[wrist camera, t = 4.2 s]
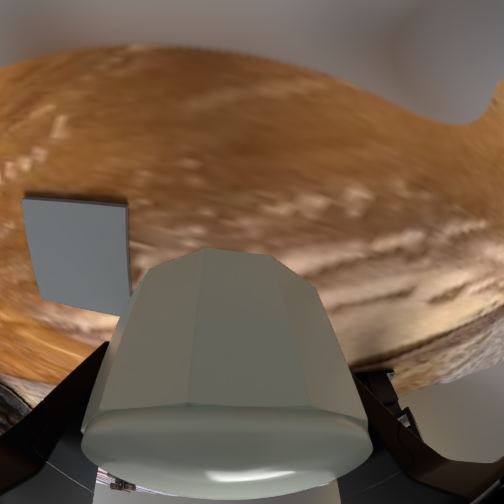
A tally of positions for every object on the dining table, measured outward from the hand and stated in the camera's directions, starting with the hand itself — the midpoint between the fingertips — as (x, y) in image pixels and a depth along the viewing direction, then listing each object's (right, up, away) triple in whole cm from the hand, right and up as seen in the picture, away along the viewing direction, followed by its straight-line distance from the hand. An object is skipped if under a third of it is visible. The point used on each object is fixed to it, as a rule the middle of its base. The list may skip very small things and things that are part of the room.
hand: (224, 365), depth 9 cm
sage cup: (0, +1, +1) cm, 1 cm away
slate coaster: (-12, +3, +8) cm, 15 cm away
